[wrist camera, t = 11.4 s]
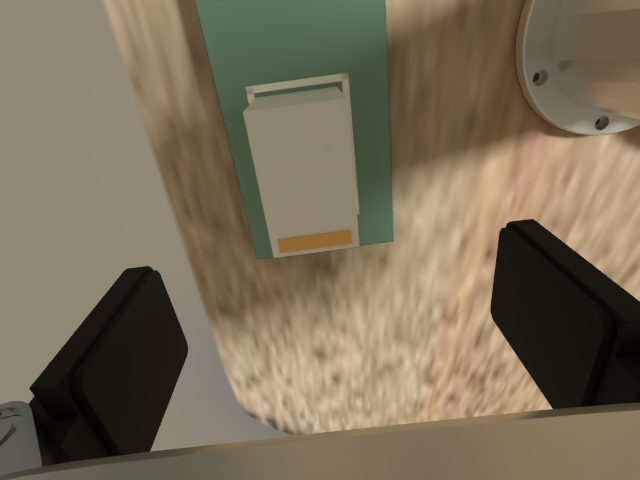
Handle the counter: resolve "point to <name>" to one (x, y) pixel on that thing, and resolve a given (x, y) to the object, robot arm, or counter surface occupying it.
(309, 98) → the plug cap
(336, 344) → the counter surface
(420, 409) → the counter surface
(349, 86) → the header board
